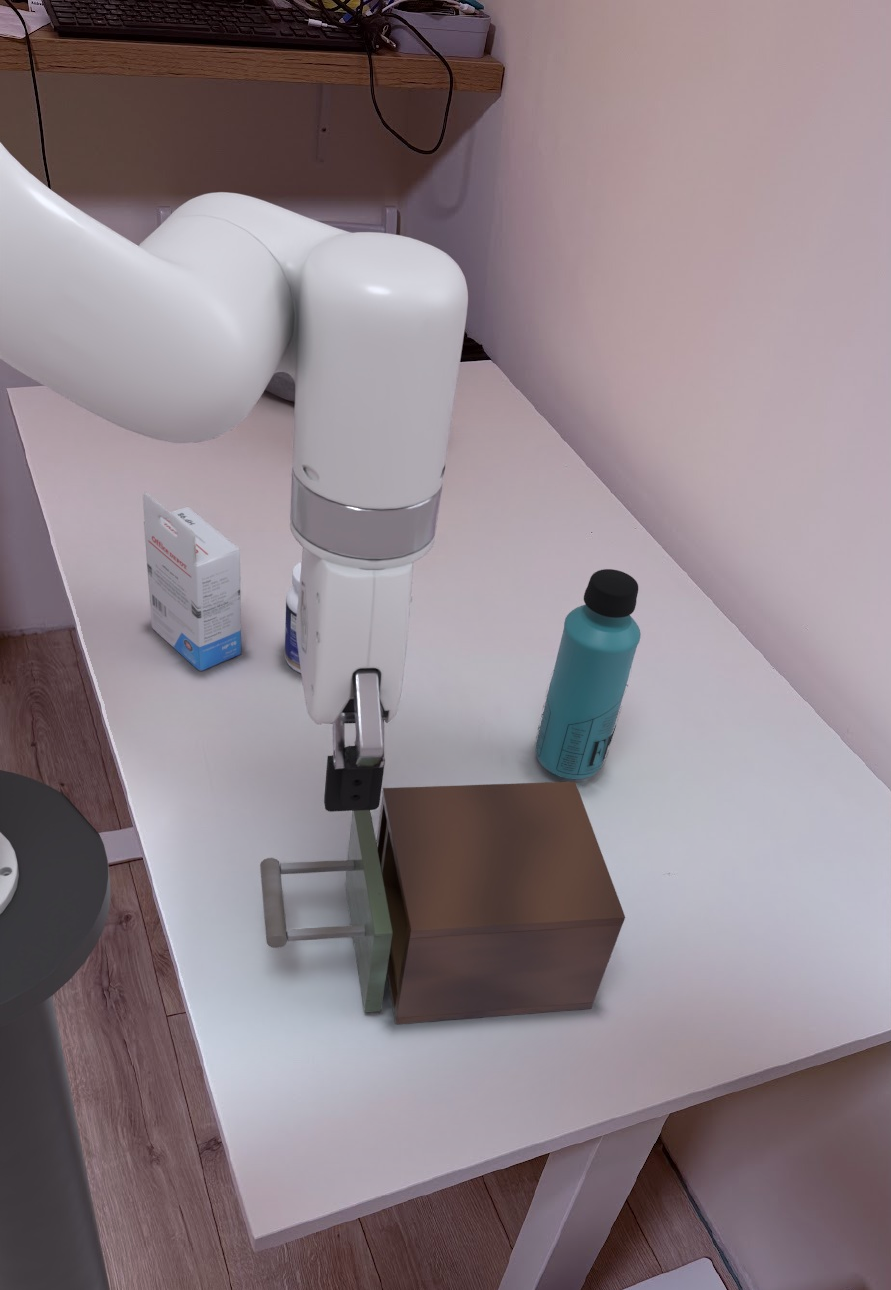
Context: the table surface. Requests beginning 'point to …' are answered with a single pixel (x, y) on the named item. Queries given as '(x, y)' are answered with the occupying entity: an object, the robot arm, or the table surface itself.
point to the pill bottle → (292, 621)
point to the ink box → (192, 584)
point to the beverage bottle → (589, 677)
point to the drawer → (351, 907)
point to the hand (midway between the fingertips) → (342, 754)
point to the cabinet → (498, 900)
